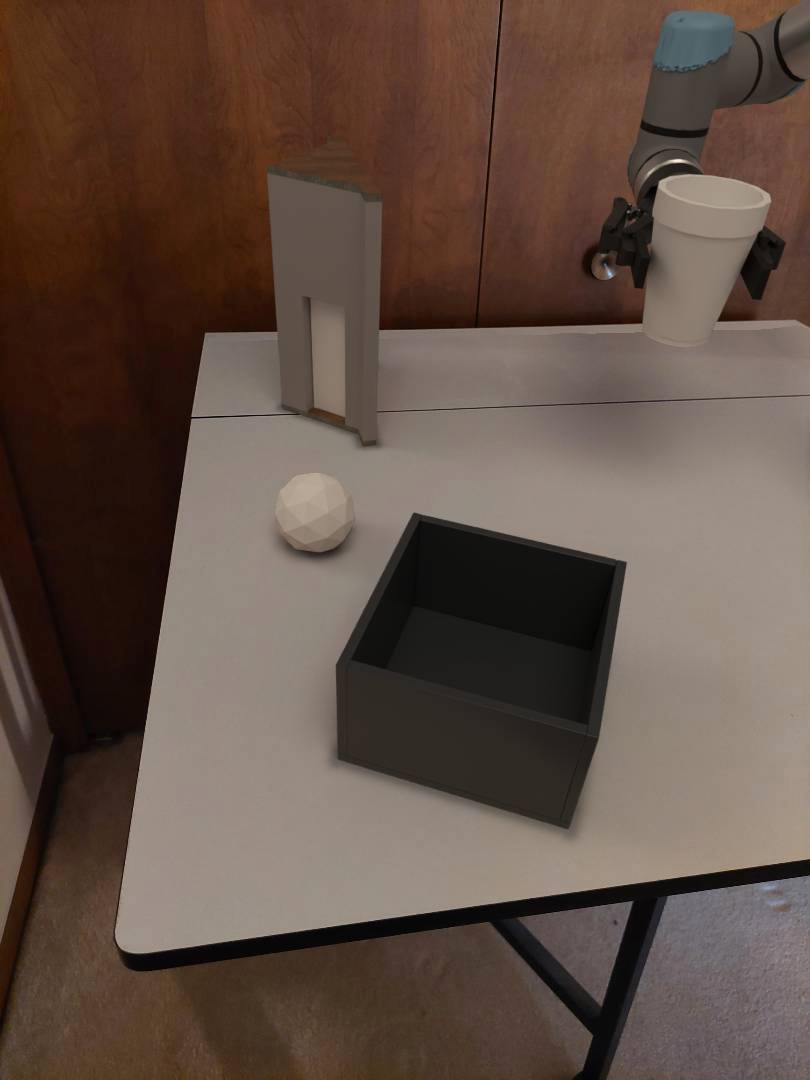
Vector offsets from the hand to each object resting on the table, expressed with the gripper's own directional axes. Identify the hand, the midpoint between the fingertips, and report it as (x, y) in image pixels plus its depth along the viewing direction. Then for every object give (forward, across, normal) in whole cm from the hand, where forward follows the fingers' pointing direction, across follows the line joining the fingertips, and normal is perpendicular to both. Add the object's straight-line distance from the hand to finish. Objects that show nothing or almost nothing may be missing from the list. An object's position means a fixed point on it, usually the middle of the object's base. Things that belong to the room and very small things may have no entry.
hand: (701, 279), depth 69 cm
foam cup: (-4, 0, -7) cm, 8 cm away
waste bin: (+29, +15, -26) cm, 41 cm away
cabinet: (-15, +38, -26) cm, 48 cm away
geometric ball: (+11, +32, -26) cm, 43 cm away
